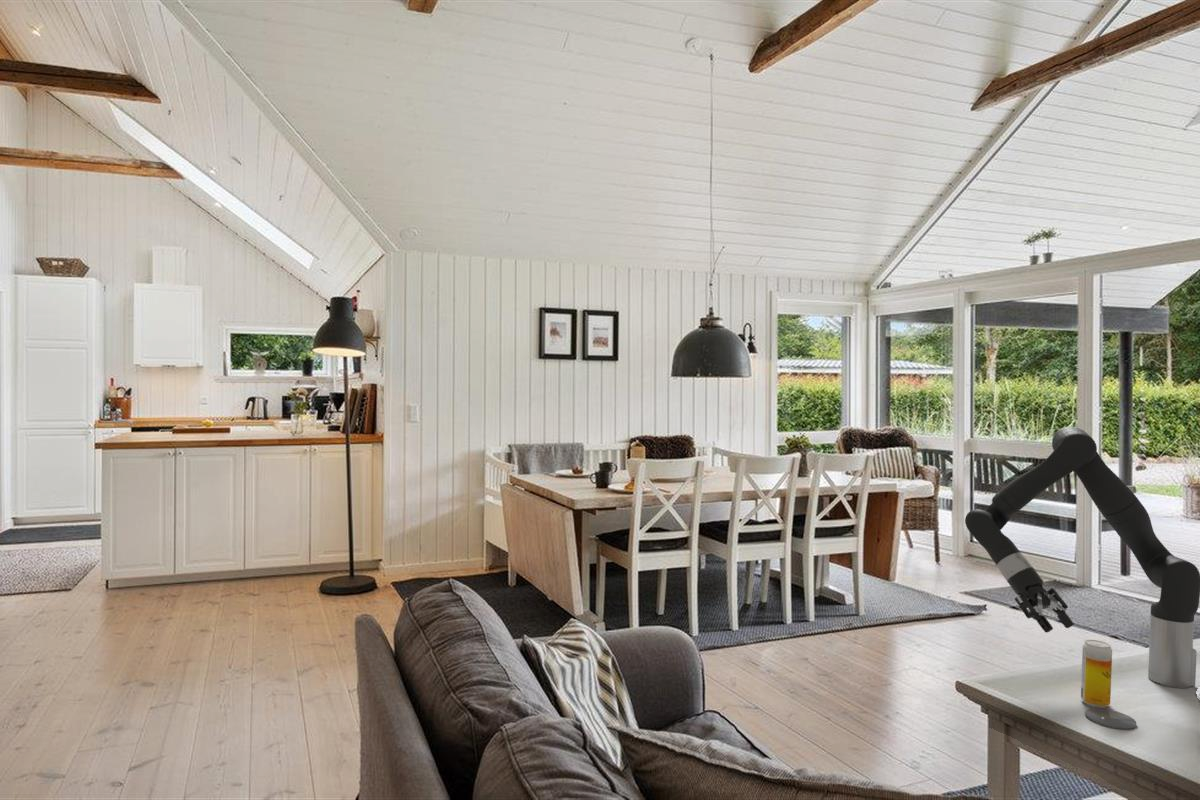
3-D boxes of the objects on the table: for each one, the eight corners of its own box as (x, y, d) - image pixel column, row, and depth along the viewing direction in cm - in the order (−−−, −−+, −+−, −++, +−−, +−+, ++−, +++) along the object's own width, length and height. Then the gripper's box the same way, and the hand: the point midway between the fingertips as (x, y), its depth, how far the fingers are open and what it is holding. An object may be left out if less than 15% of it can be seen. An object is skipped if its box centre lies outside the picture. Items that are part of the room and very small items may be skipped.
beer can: (1114, 710, 183) (1117, 648, 183) (1086, 707, 184) (1089, 646, 184) (1103, 699, 189) (1105, 640, 189) (1076, 697, 190) (1078, 638, 190)
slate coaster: (1118, 711, 183) (1118, 708, 183) (1146, 730, 173) (1146, 727, 173) (1075, 709, 183) (1075, 707, 183) (1101, 728, 173) (1101, 726, 173)
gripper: (1012, 568, 199) (1053, 625, 189) (1046, 563, 205) (1087, 618, 195) (992, 583, 204) (1032, 639, 194) (1026, 578, 210) (1066, 632, 200)
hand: (1060, 628), depth 195 cm, fingers open, 8 cm apart
